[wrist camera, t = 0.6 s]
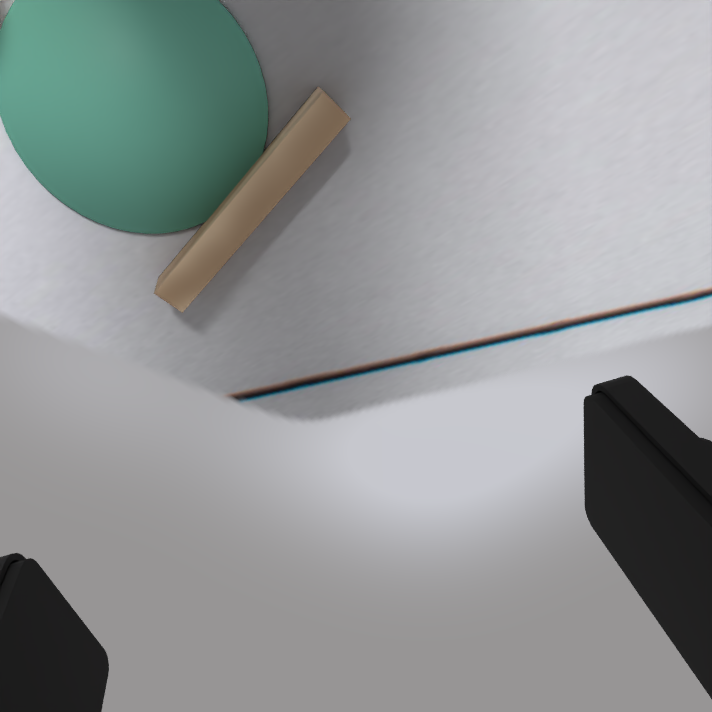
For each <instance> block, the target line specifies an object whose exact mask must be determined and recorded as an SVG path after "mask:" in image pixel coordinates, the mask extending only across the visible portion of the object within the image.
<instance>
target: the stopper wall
mask: <svg viewBox="0 0 712 712" xmlns="http://www.w3.org/2000/svg"><path fill="white" fill-rule="evenodd" d="M350 119H351V118H350V117H349V116H348V115H347V114H346V113H345V112H344V111H343V110H342V109H341V108H340V107H339V106H338V105H337V104H336V103H335V102H334V101H333V100H332V99H331V98H330V97H329V96H328V95H327V94H326V93H325V92H324V91H323V90H322V89H321V88H319V87H317V89H316V90H315V91H314V92H313V93H312V95H311V96H310V97H309V98H308V99H307V101H306V102H305V103H304V104H303V105H302V107H301V108H300V109H299V110H298V111H297V112H296V114H295V115H294V116H293V117H292V118H291V120H290V121H289V122H288V123H287V124H286V126H285V127H284V128H283V129H282V130H281V132H280V133H279V134H278V135H277V136H276V138H275V139H274V140H273V141H272V142H271V144H270V145H269V146H268V147H267V148H266V150H265V151H264V152H263V154H262V155H261V156H260V158H259V159H258V160H257V161H256V162H255V164H254V165H253V166H252V167H251V168H250V170H249V171H248V172H247V173H246V174H245V176H244V177H243V178H242V179H241V180H240V181H239V183H238V184H237V185H236V186H235V187H234V189H233V190H232V191H231V192H230V193H229V195H228V196H227V197H226V198H225V199H224V201H223V202H222V203H221V204H220V205H219V207H218V208H217V209H216V210H215V211H214V213H213V214H212V215H211V216H210V217H209V219H208V220H207V221H206V222H205V223H204V224H203V225H202V226H201V227H200V228H199V230H198V231H197V232H196V233H195V234H194V236H193V237H192V238H191V239H190V240H189V242H188V243H187V244H186V245H185V246H184V248H183V249H182V250H181V251H180V252H179V254H178V255H177V256H176V257H175V258H174V260H173V261H172V262H171V263H170V264H169V266H168V267H167V268H166V269H165V270H164V272H163V273H162V274H161V275H160V276H159V278H158V281H157V285H156V288H155V292H154V294H156V295H157V296H159V297H160V298H161V299H163V300H164V301H166V302H167V303H169V304H170V305H172V306H173V307H175V308H176V309H178V310H179V311H181V312H182V313H183V312H184V310H185V309H186V308H187V307H188V306H189V305H190V303H191V302H192V301H193V300H194V299H195V298H196V297H197V295H198V294H199V293H200V292H201V291H202V290H203V288H204V287H205V286H206V285H207V284H208V283H209V282H210V280H211V279H212V278H213V277H214V276H215V275H216V274H217V272H218V271H219V270H220V269H221V268H222V267H223V265H224V264H225V263H226V262H227V261H228V260H229V259H230V257H231V256H232V255H233V254H234V253H235V252H236V251H237V249H238V248H239V247H240V246H241V245H242V244H243V242H244V241H245V240H246V239H247V238H248V237H249V236H250V234H251V233H252V232H253V231H254V230H255V229H256V227H257V226H258V225H259V224H260V223H261V222H262V221H263V219H264V218H265V217H266V216H267V215H268V214H269V213H270V211H271V210H272V209H273V208H274V207H275V206H276V204H277V203H278V202H279V201H280V200H281V199H282V198H283V196H284V195H285V194H286V193H287V192H288V191H289V190H290V188H291V187H292V186H293V185H294V184H295V183H296V181H297V180H298V179H299V178H300V177H301V176H302V175H303V173H304V172H305V171H306V170H307V169H308V168H309V166H310V165H311V164H312V163H313V162H314V161H315V160H316V158H317V157H318V156H319V155H320V154H321V153H322V152H323V150H324V149H325V148H326V147H327V146H328V145H329V143H330V142H331V141H332V140H333V139H334V138H335V137H336V135H337V134H338V133H339V132H340V131H341V130H342V129H343V127H344V126H345V125H346V124H347V123H348V122H349V120H350Z"/></svg>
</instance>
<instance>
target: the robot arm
mask: <svg viewBox="0 0 712 712" xmlns="http://www.w3.org/2000/svg"><path fill="white" fill-rule="evenodd" d="M584 471H585V472H584V476H585V478H584V479H585V510H586V514H587V517H588V520H589V521H590V524H591V526H592V527H593V529H594V530H595V532H596V533H597V535H598V536H599V538H600V539H601V540H602V542H603V543H604V544H605V546H606V548H607V549H608V550H609V552H610V553H611V555H612V556H613V558H614V559H615V561H616V562H617V563H618V565H619V566H620V568H621V569H622V571H623V572H624V573H625V575H626V576H627V578H628V579H629V580H630V582H631V584H632V585H633V586H634V588H635V589H636V591H637V592H638V594H639V595H640V596H641V598H642V599H643V601H644V602H645V604H646V605H647V607H648V608H649V609H650V611H651V612H652V614H653V615H654V617H655V618H656V619H657V621H658V622H659V624H660V625H661V627H662V628H663V629H664V631H665V632H666V634H667V635H668V637H669V638H670V640H671V641H672V642H673V644H674V645H675V646H676V648H677V650H678V651H679V653H680V654H681V655H682V657H683V658H684V660H685V661H686V663H687V664H688V665H689V667H690V668H691V670H692V671H693V673H694V674H695V675H696V677H697V678H698V680H699V681H700V683H701V684H702V686H703V687H704V689H705V690H706V691H707V693H708V694H709V696H710V697H711V699H712V442H711V441H710V440H707V439H704V438H699V437H698V436H697V435H696V434H695V433H693V431H691V430H690V429H689V428H688V427H687V426H686V425H685V424H684V423H683V422H682V421H681V420H679V419H678V418H677V417H676V416H675V415H674V414H673V413H672V412H671V411H670V410H669V409H667V408H666V407H665V406H664V405H663V404H662V403H661V402H660V401H659V400H658V399H656V398H655V397H654V396H653V395H652V394H651V393H650V392H649V391H648V390H647V389H646V388H645V387H643V386H642V385H641V384H640V383H639V382H638V381H637V380H636V379H634V378H633V377H631V376H624V377H620V378H617V379H613V380H610V381H606V382H603V383H599V384H597V385H594V387H593V389H592V395H589V396H587V397H585V399H584ZM108 671H109V664H108V657H107V654H106V652H105V650H104V648H103V647H102V646H101V645H100V643H99V642H98V641H97V639H96V638H95V637H94V636H93V634H92V633H91V632H90V630H89V629H88V628H87V626H86V625H85V624H84V622H83V621H82V620H81V619H80V618H79V616H78V615H77V613H76V612H75V611H74V610H73V608H72V607H71V606H70V604H69V603H68V602H67V600H65V598H64V597H63V595H62V594H61V593H60V591H59V590H58V589H57V588H56V586H55V585H54V584H53V582H52V581H51V580H50V578H49V577H48V576H47V575H46V573H45V572H44V571H43V569H42V568H41V567H40V566H39V564H38V563H37V562H36V561H35V560H34V559H31V558H30V559H26V558H25V557H23V556H22V555H21V554H18V553H15V554H10V555H7V556H3V557H0V712H101V710H102V704H103V699H104V693H105V689H106V683H107V678H108Z"/></svg>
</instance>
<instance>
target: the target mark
mask: <svg viewBox="0 0 712 712" xmlns="http://www.w3.org/2000/svg"><path fill="white" fill-rule="evenodd" d="M0 116H1V118H2V121H3V124H4V127H5V129H6V132H7V134H8V136H9V138H10V140H11V142H12V144H13V146H14V148H15V150H16V152H17V153H18V155H19V156H20V158H21V159H22V161H23V162H24V164H25V165H26V167H27V168H28V169H29V170H30V171H31V173H32V174H33V175H34V176H35V178H36V179H37V180H38V181H39V182H40V183H41V184H42V185H43V186H44V187H45V188H46V189H47V190H48V191H49V192H50V193H51V194H52V195H54V196H55V197H56V198H58V199H59V200H60V201H61V202H63V203H64V204H65V205H67V206H68V207H70V208H71V209H73V210H75V211H76V212H78V213H79V214H81V215H83V216H85V217H87V218H89V219H91V220H93V221H95V222H98V223H100V224H103V225H106V226H109V227H112V228H115V229H120V230H124V231H128V232H136V233H145V234H156V233H169V232H176V231H180V230H184V229H188V228H192V227H194V226H196V225H199V224H201V223H204V222H206V221H207V220H208V219H209V217H210V216H211V215H212V214H213V213H214V211H215V210H216V209H217V208H218V207H219V205H220V204H221V203H222V202H223V201H224V199H225V198H226V197H227V196H228V195H229V193H230V192H231V191H232V190H233V189H234V187H235V186H236V185H237V184H238V183H239V181H240V180H241V179H242V178H243V177H244V176H245V174H246V173H247V172H248V171H249V170H250V168H251V167H252V166H253V165H254V164H255V162H256V161H257V160H258V159H259V158H260V156H261V155H262V154H263V150H264V146H265V142H266V137H267V127H268V102H267V95H266V88H265V83H264V79H263V76H262V72H261V68H260V66H259V63H258V61H257V58H256V56H255V53H254V51H253V48H252V47H251V45H250V43H249V41H248V39H247V37H246V36H245V34H244V32H243V31H242V29H241V28H240V26H239V25H238V23H237V22H236V21H235V19H234V18H233V16H232V15H231V14H230V13H229V12H228V11H227V9H226V8H225V7H224V6H223V5H222V4H221V3H220V2H219V1H218V0H15V1H14V3H13V4H12V6H11V8H10V10H9V12H8V13H7V15H6V17H5V19H4V21H3V24H2V27H1V30H0Z"/></svg>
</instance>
